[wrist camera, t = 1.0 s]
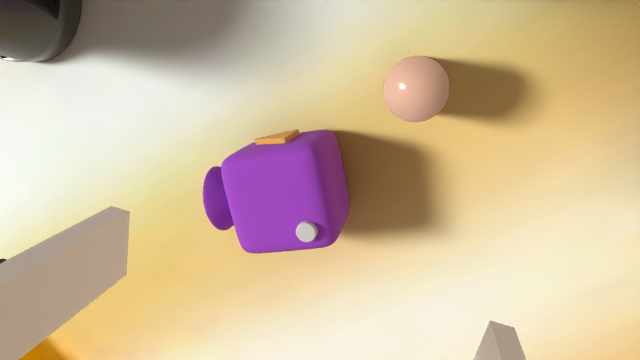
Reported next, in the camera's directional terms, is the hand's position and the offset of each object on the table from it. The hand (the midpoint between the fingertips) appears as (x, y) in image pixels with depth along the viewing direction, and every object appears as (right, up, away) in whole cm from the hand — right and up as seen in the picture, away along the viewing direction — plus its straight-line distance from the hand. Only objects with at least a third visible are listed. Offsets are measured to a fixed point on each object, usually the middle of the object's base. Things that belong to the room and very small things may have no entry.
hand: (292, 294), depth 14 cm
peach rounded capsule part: (+10, +13, +24) cm, 29 cm away
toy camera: (-2, +4, +29) cm, 30 cm away
